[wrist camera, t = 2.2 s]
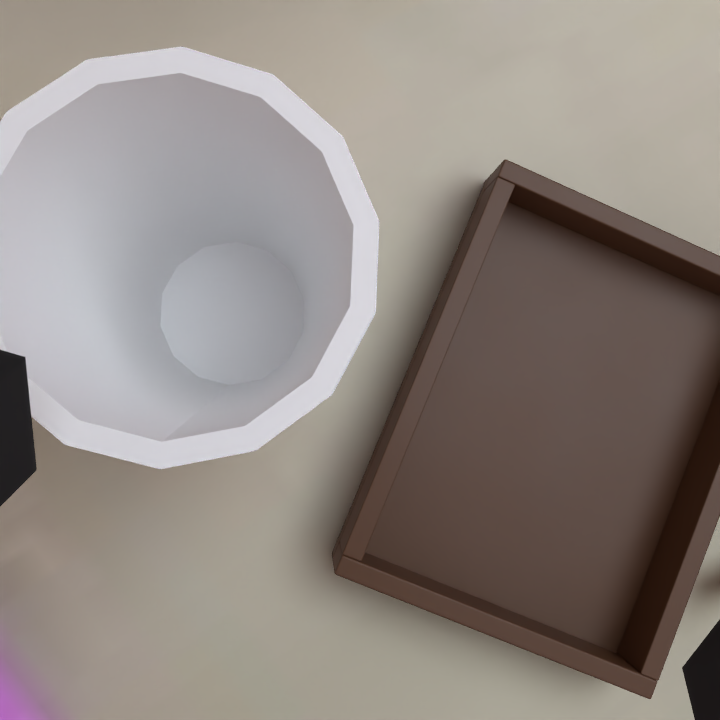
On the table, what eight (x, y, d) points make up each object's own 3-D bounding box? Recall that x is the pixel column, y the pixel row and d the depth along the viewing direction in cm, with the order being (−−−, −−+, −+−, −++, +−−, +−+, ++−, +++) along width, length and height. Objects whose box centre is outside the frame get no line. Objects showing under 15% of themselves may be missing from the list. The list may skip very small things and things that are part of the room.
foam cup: (325, 190, 28) (343, 24, 15) (364, 401, 28) (416, 419, 15) (101, 225, 27) (-86, 82, 14) (140, 443, 27) (-13, 502, 14)
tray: (485, 180, 28) (504, 158, 26) (756, 301, 29) (803, 293, 27) (331, 554, 27) (334, 574, 25) (617, 668, 28) (651, 700, 25)
